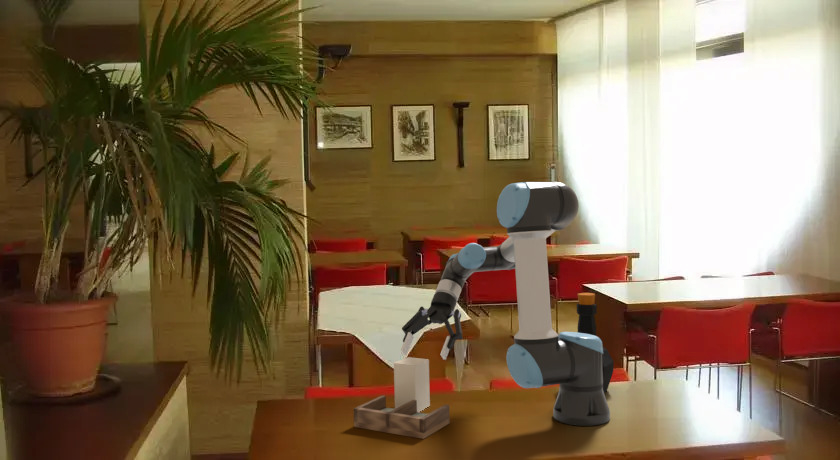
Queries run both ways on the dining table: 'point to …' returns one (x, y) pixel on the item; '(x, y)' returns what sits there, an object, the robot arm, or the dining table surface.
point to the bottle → (593, 331)
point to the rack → (400, 418)
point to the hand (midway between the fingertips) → (422, 354)
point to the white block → (412, 382)
